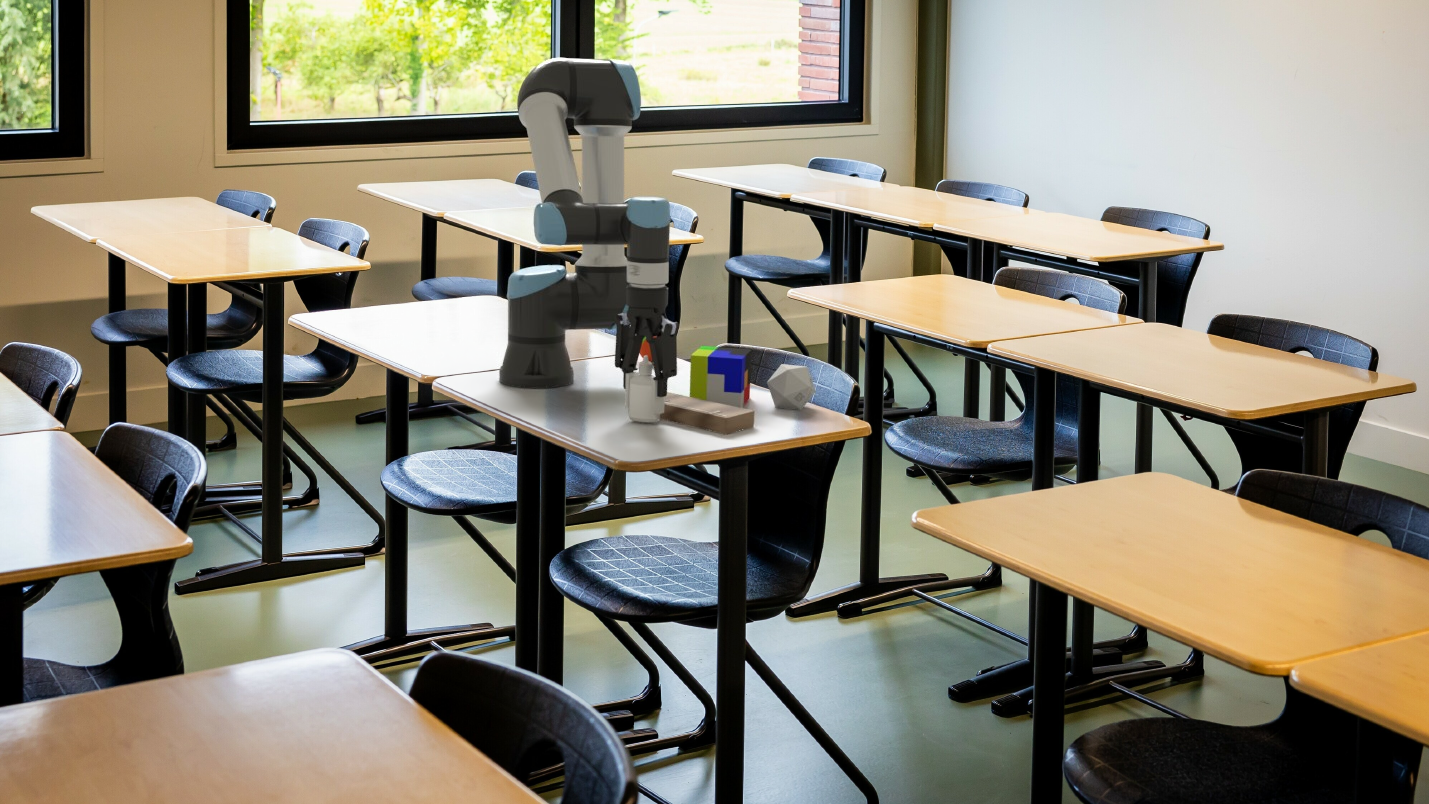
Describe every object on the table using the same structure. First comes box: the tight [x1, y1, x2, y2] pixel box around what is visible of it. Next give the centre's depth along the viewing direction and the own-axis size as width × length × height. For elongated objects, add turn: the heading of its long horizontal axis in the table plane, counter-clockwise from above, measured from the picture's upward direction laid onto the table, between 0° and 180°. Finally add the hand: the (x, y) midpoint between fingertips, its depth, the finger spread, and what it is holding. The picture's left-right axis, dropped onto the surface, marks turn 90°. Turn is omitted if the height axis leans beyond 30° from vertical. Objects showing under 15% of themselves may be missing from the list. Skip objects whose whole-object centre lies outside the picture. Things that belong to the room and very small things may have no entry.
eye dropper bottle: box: [628, 356, 661, 423], centre depth 256 cm, size 4×6×12 cm
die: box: [766, 363, 817, 411], centre depth 273 cm, size 8×9×10 cm
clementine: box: [639, 336, 657, 363], centre depth 311 cm, size 8×7×7 cm
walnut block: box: [659, 391, 755, 435], centre depth 260 cm, size 23×8×3 cm, turn 51°
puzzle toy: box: [689, 345, 752, 408], centre depth 274 cm, size 10×10×10 cm
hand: (644, 410), depth 257 cm, fingers closed on eye dropper bottle, 6 cm apart
